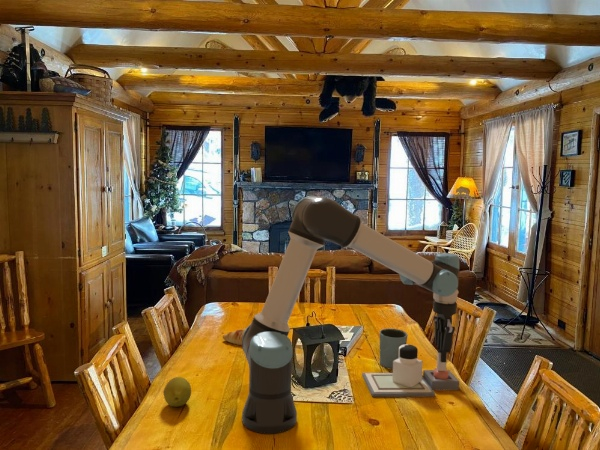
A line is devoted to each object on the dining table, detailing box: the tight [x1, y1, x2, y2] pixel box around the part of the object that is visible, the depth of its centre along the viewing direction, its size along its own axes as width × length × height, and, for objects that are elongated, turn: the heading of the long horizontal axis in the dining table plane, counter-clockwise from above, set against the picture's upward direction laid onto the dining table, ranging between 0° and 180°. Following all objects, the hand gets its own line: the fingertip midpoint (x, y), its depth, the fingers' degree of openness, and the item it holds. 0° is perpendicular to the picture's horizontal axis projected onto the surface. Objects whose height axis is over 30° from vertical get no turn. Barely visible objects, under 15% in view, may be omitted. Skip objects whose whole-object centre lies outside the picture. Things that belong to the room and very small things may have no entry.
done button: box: [433, 367, 450, 379], centre depth 161 cm, size 5×5×4 cm
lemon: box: [163, 376, 192, 408], centre depth 142 cm, size 11×8×8 cm
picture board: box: [361, 372, 436, 398], centre depth 160 cm, size 16×20×2 cm
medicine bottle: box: [392, 343, 424, 388], centre depth 159 cm, size 7×7×12 cm
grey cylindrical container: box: [379, 328, 408, 370], centre depth 177 cm, size 10×10×12 cm
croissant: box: [222, 328, 246, 346], centre depth 197 cm, size 21×10×8 cm, turn 86°
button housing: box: [422, 369, 460, 391], centre depth 161 cm, size 9×9×3 cm
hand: (441, 370), depth 161 cm, fingers closed
